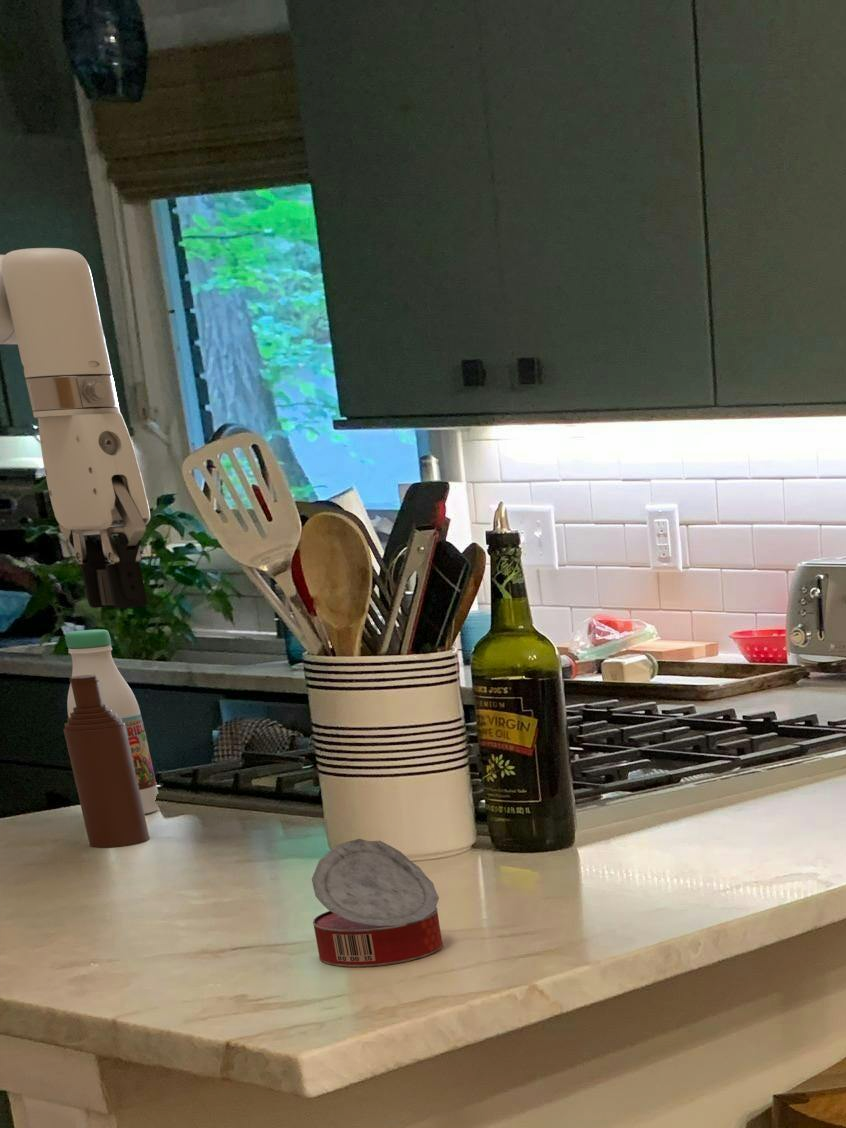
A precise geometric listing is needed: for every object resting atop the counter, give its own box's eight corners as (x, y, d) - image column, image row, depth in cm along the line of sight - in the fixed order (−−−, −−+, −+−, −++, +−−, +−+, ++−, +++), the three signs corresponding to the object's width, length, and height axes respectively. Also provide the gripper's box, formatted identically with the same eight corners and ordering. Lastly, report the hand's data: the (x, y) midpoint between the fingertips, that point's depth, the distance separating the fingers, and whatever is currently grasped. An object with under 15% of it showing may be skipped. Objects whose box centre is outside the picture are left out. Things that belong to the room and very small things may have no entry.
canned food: (434, 988, 164) (476, 880, 161) (407, 1009, 154) (451, 895, 152) (306, 932, 162) (347, 822, 160) (271, 950, 153) (313, 833, 150)
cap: (152, 604, 187) (146, 569, 186) (112, 604, 185) (106, 569, 183) (134, 604, 190) (129, 569, 189) (95, 605, 187) (89, 570, 186)
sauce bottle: (78, 848, 204) (40, 681, 197) (107, 836, 209) (71, 673, 202) (132, 846, 203) (95, 679, 196) (159, 835, 209) (125, 672, 202)
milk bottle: (75, 819, 220) (33, 635, 211) (117, 806, 226) (78, 627, 218) (134, 819, 218) (94, 634, 210) (175, 806, 225) (137, 626, 216)
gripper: (158, 394, 177) (200, 604, 185) (67, 402, 187) (110, 601, 194) (81, 396, 172) (128, 612, 179) (-9, 404, 182) (39, 609, 189)
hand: (118, 604), depth 187 cm, fingers closed on cap, 3 cm apart
